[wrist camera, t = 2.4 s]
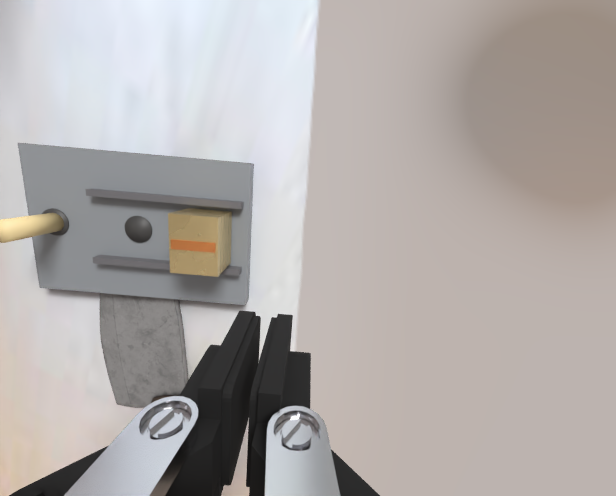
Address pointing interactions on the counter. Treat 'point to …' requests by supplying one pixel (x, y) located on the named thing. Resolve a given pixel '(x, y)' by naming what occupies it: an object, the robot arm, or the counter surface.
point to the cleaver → (143, 348)
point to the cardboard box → (199, 241)
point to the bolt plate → (128, 220)
